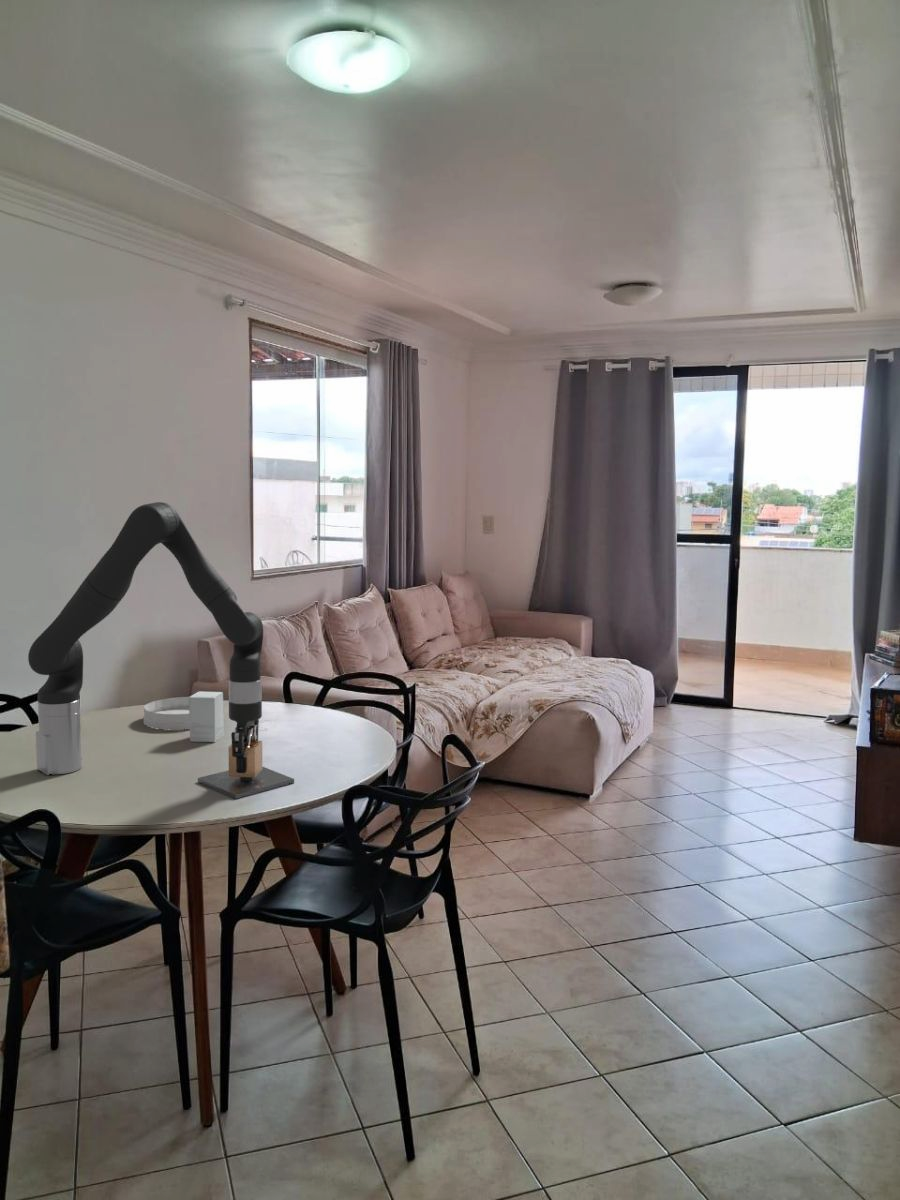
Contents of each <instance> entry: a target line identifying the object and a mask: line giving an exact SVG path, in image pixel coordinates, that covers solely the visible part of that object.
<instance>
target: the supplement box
mask: <svg viewBox="0 0 900 1200" xmlns="http://www.w3.org/2000/svg"><path fill="white" fill-rule="evenodd" d="M188 697H189V718H190V730H189V741H190V742H197V743H199V742H200V743H201V742H202V743H216V742H218V741H219V740H220V739H221V738H223V737H224V736H225V730H224V729H225V727H224V726H225V724H224V693H223V691H201V690H200V691H196V693H194V694H192V695H190V696H188Z"/></svg>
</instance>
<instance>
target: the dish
mask: <svg viewBox="0 0 900 1200" xmlns="http://www.w3.org/2000/svg"><path fill="white" fill-rule="evenodd" d="M189 697H190V696H180V697H179V696H178V697H169V698H162V699H157V700H153V701H150V702H148V703H146V704H145V705H144V708H143V724H144V726H145V725H147V726H149V727H153V728H158V729H157V730H159V729H170V730H169V731H187V730H186V729H190V718H189ZM147 726H146V727H147ZM149 727H148V728H149ZM153 728H152V729H153ZM184 729H185V730H184Z"/></svg>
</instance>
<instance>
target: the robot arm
mask: <svg viewBox="0 0 900 1200" xmlns="http://www.w3.org/2000/svg"><path fill="white" fill-rule="evenodd" d="M158 544H162V545H163V546H164V547H165V548H166V549H168V551H170V553H171V554H172V555H173V557H174V558H175V559H176V561H177V562H178V564H179V566H180V568H181V569H182V572H183V573H184V574H183V575H184V576H185V579H186V581H187V584H188V585H189V587H190V589H191V590H192V592H193V593H194V595H195V596H196V597H197V598H198V599H199V600H200V602H201V603H202V604H203V606H205V608H206V609H207V610H208V611H209V612H210V613H211V615H212V617H213V619H214V620H215V621H216V623H217V625H218V627H219V628H220V630H221V632H222V633H223V634H224V636H225V637H226V639H227V640H228V641H229V642H231V643H232V644H233V653H232V654H231V657H230V659H229V660H230V661H229V685H228V719H230V720H231V721H234V722H236V727H235V728H234V731H232V732H231V733H230V735H231V745H232V756H233V757H236V772H237V773H245V772H246V756H247V748H248V747H250V741H259V726H260V725H259V724H260V723H259V722H260V719H261V718H262V717H263V711H262V710H263V708H262V707H263V706H262V705H263V699H262V697H263V696H262V695H263V692H262V691H263V690H262V688H263V687H262V682H261V681H262V679H261V669H262V668H261V655H262V649H263V643H264V641H263V640H264V624H263V622H262V619H261V618H260V616H258V615H257V614H255V613H253V612H250V611H246V612H244V609H242V607H241V606H240V604H239V603H238V602H237V601H238V600H237V599H238V597H237V595H236V594H235V592H234V591H233V589H232V588H231V587H230V586H229V584H228V583H227V582H226V580H225V579H224V578H223V577H222V576H221V575H220V573H219V572H217V570H216V569H215V568H214V566H213V565H212V563H210V561H209V560H208V558H207V557H206V555H204V552H203V551H202V550H201V548H200V547H199V545H198V544H197V542H196V540H195V539H194V537H193V536H192V534H191V533H190V531H189V529H188V528H187V526H186V524H185V523H184V520H183V519H182V517H181V515H180V514H179V513H178V511H177V510H176V509H175V508H174V507H173V506H172V505H171V504H168V503H167V502H163V501H162V502H160V501H157V502H151V503H146V504H142V505H140V506H138V507H136V508H135V509H134V510H133V511H131V513H130V515H129V516H128V517H127V519H126V521H125V522H124V525H123V526H122V527H121V530H120V531H119V533H118V535H117V536H116V538H115V540H114V542H113V543H112V544H111V546H110V547H109V548H108V550H107V551H106V552H105V553H104V555H102V556H101V558H100V559H99V561H97V563H96V565H95V566H94V567H93V569H92V570H91V571H90V572H89V573H88V574H87V576H86V577H85V578H84V579H83V581H82V583H81V584H80V585H79V587H78V588H77V589H76V591H75V592H74V594H73V595H72V597H71V598H70V599H69V600H68V602H67V603H66V604H65V606H64V607H63V609H62V610H61V611H60V613H59V614H58V615H57V616H56V618H55V619H54V620H53V621H52V622H51V623H50V625H49V626H47V628H46V629H44V630H43V632H42V633H41V634H40V635H39V636H38V637H37V638H36V639H35V640H34V641H33V643H32V644H31V646H30V648H29V650H28V655H27V658H28V659H27V660H28V665H29V667H30V669H31V670H32V671H33V672H35V673H36V674H38V675H42V676H48V677H47V679H46V681H45V682H44V684H43V685H42V686H41V687H40V688H39V689H38V691H37V709H38V710H37V713H38V714H37V716H38V718H37V719H38V731H36V732H35V746H36V747H35V749H36V770H37V769H39V770H40V771H42V772H43V773H42V772H41V773H42V774H44V773H45V774H46V776H50V775H49V774H52V775H63V774H70V773H74V772H77V771H78V770H81V769H82V767H83V766H82V763H83V762H82V760H83V759H82V739H81V738H82V736H81V709H80V708H81V705H80V703H81V701H80V692H81V691H82V688H83V683H84V681H83V680H84V650H83V647H82V644H81V642H80V638H81V637H82V636H84V634H86V633H87V632H89V630H91V629H92V628H94V627H96V626H97V625H98V624H99V623H100V622H102V621H103V620H105V619H106V618H107V617H108V616H109V615H110V614H111V613H112V612H113V611H114V610H115V609H116V607H117V606H118V605H119V604H120V602H121V601H122V600H123V599H124V597H125V595H126V594H127V593H128V591H129V589H130V586H131V584H132V581H133V578H134V574H135V571H136V569H137V568H138V565H139V564H140V563H141V561H143V559H144V558H145V557H146V556H147V554H148V553H149V552H151V550H152V549H153V548H154V547H156V546H157V545H158ZM244 743H245V744H244ZM238 748H240V749H241V752H238ZM40 771H39V772H40ZM45 774H44V775H45Z"/></svg>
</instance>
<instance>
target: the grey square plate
mask: <svg viewBox="0 0 900 1200" xmlns="http://www.w3.org/2000/svg"><path fill="white" fill-rule="evenodd" d="M293 782H294V783H295V778H293V777H291V776H287V775H286V774H283V773H281V772H280V773H279V772H277V771H275V770H273V769H269V768H268V767H265V766H262V770H261V771H260V773H259V774H258V775H257V776H256V777H255V778H253V777H229V769H228V770H225V771H220V772H217V773H213V774H208V775H204V776H200V777H198V778H197V783H199V784H201V785H203V786H205V787H208V788H210V789H212V790H215V791H217V792H219V793H221V794H223V795H226V796H228V797H231V798H232V799H234V798H235V800H238V799H240V797H241V798H244V797H243V796H245V797H248V796H247V795H249V796H251V794H252V795H255V794H254V793H256V794H259V793H258V792H260V793H262V792H261V791H263V792H266V791H265V790H267V791H270V790H269V789H271V790H273V789H272V788H274V789H277V788H276V787H278V788H280V787H279V786H282V787H284V786H283V785H285V786H288V785H287V784H289V783H293ZM294 783H293V784H294ZM289 785H290V784H289ZM237 798H238V799H237Z"/></svg>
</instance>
